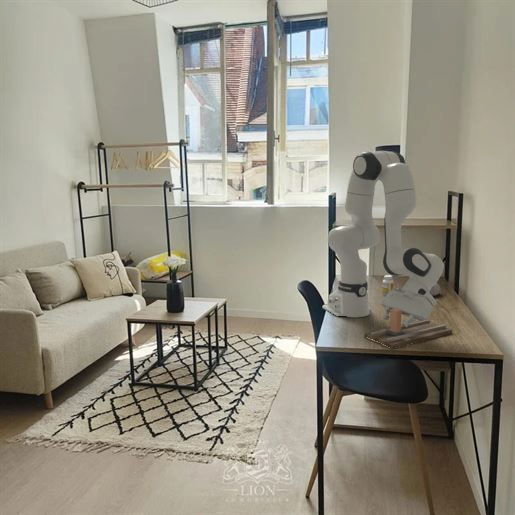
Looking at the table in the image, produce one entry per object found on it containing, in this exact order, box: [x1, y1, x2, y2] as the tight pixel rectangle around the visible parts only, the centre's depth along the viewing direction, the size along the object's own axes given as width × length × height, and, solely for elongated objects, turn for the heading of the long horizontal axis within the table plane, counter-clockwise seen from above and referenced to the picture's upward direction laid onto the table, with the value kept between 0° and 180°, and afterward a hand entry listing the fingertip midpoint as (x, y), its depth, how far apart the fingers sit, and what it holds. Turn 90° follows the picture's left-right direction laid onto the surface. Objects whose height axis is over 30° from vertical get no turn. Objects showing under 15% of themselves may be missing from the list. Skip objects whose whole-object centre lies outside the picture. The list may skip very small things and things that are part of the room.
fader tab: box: [386, 309, 404, 336], centre depth 168 cm, size 5×4×9 cm
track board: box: [363, 318, 453, 349], centre depth 173 cm, size 14×31×2 cm, turn 119°
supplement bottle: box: [381, 274, 395, 297], centre depth 230 cm, size 5×5×10 cm
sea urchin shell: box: [430, 282, 442, 297], centre depth 231 cm, size 13×14×8 cm
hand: (394, 322), depth 168 cm, fingers open, 8 cm apart
